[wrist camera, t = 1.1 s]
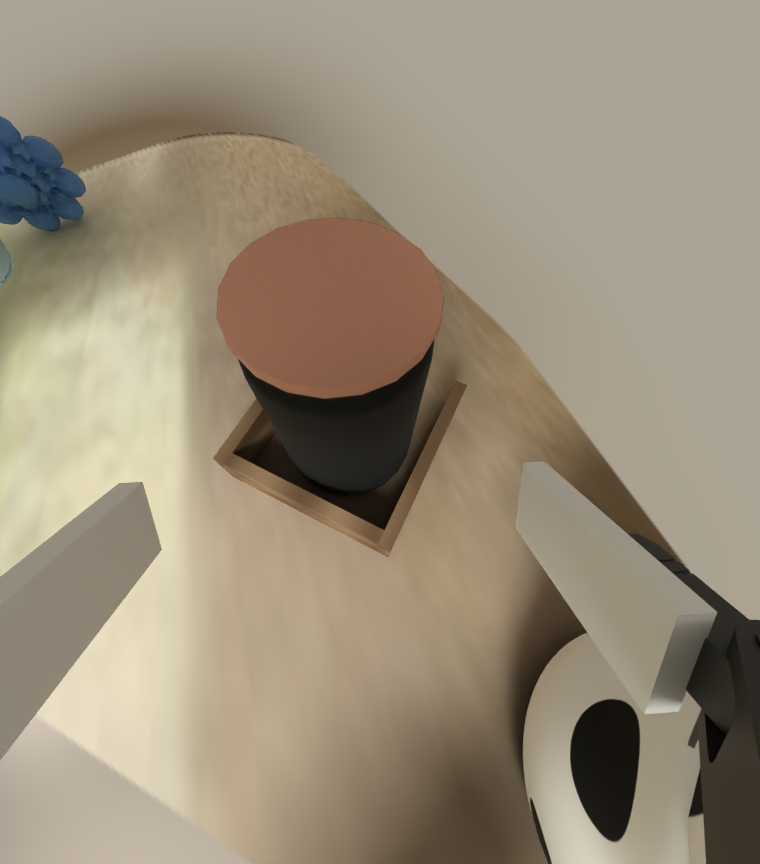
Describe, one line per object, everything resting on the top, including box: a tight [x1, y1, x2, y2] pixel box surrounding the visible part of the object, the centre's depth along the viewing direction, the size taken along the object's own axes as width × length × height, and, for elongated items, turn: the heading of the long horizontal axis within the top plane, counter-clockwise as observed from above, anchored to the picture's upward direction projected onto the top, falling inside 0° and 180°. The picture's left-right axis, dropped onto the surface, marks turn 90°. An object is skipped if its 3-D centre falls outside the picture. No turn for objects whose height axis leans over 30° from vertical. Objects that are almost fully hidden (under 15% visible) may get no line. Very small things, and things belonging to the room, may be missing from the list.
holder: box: [213, 381, 467, 557], centre depth 31 cm, size 15×15×4 cm
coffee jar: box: [217, 218, 444, 495], centre depth 25 cm, size 11×11×18 cm
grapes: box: [0, 116, 86, 231], centre depth 38 cm, size 12×7×12 cm, turn 122°
